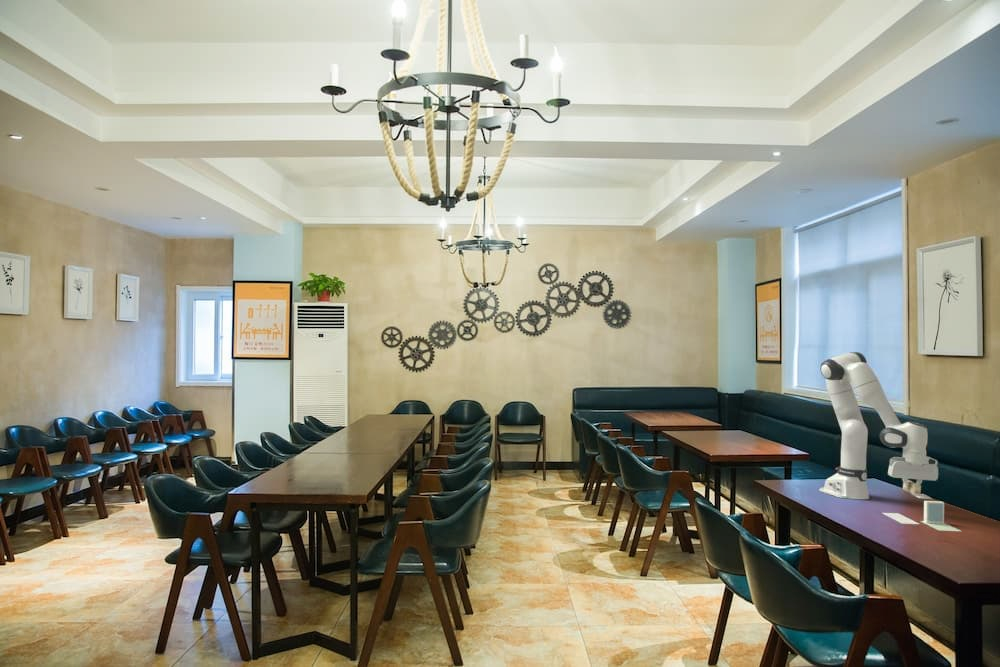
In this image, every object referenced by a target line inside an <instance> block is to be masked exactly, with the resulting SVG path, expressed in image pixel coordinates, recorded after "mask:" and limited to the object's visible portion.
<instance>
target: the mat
mask: <svg viewBox="0 0 1000 667" xmlns="http://www.w3.org/2000/svg"><path fill="white" fill-rule="evenodd" d="M920 522H921V523H923V524H925V525H927V526H929V527H931V528H933V529H935V530H937V531H942V532H943V531H944V532H947V531H948V532H961V530H960V529H958V528H956V527H954V526H952V525H950V524H947V523H945V522H944V524H934V523H925V522H924V520H920Z"/></svg>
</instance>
